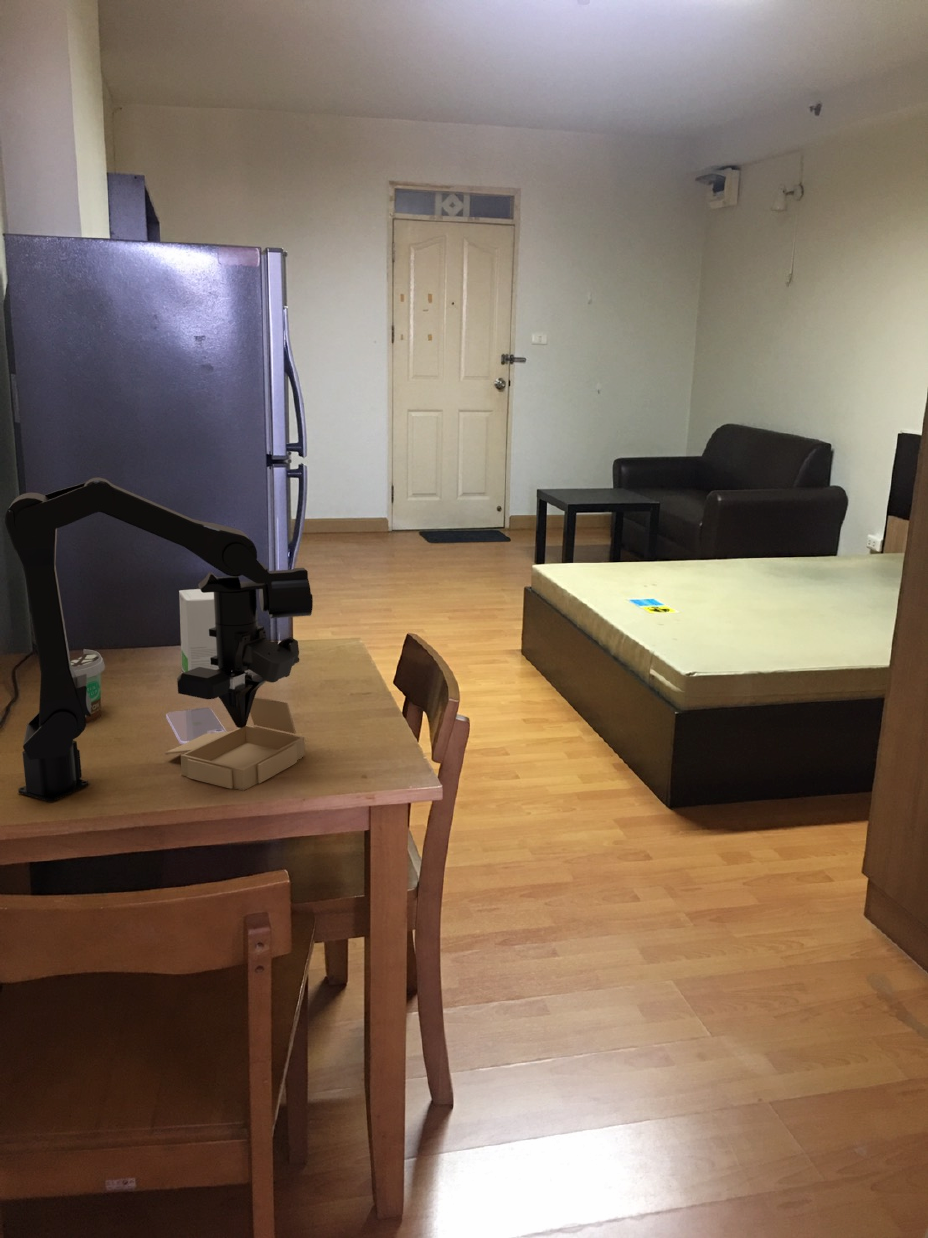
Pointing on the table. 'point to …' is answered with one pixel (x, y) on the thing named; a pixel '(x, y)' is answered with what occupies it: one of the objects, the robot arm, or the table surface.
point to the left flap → (196, 743)
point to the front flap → (272, 714)
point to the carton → (243, 757)
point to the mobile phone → (194, 723)
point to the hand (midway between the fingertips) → (241, 727)
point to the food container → (91, 679)
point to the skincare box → (197, 629)
